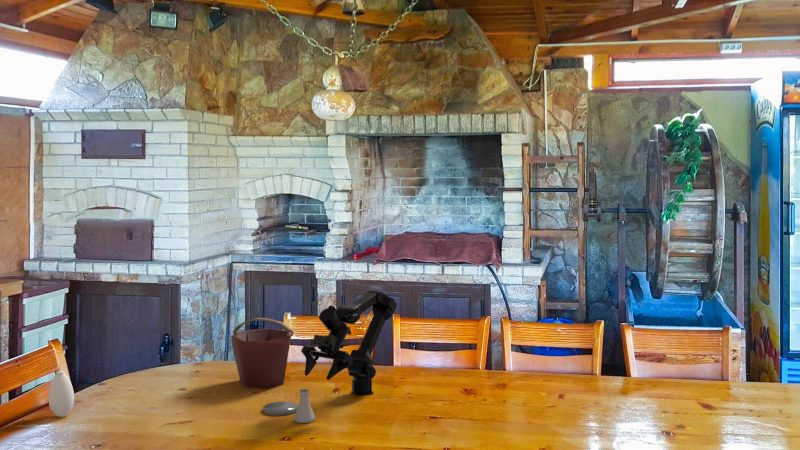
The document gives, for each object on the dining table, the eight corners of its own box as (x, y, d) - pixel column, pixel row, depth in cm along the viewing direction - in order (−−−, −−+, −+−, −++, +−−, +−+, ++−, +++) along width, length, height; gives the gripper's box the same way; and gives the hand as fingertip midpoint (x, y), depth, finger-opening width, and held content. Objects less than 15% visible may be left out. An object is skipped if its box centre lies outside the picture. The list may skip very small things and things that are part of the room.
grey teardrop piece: (50, 421, 248) (47, 367, 246) (48, 414, 254) (46, 362, 253) (75, 417, 251) (73, 364, 250) (74, 410, 258) (71, 359, 256)
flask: (311, 424, 243) (311, 394, 242) (290, 423, 244) (289, 393, 243) (318, 417, 250) (318, 387, 249) (297, 415, 251) (297, 386, 250)
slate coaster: (293, 402, 265) (293, 399, 265) (302, 412, 254) (302, 410, 254) (259, 406, 261) (259, 404, 260) (266, 417, 249) (266, 414, 249)
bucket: (306, 380, 292) (305, 316, 290) (267, 395, 273) (265, 327, 271) (259, 371, 305) (257, 310, 303) (218, 385, 286) (217, 320, 284)
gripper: (303, 322, 260) (283, 360, 251) (347, 328, 250) (327, 368, 241) (318, 340, 267) (298, 378, 259) (361, 346, 257) (342, 386, 249)
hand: (316, 377), depth 252 cm, fingers open, 9 cm apart
